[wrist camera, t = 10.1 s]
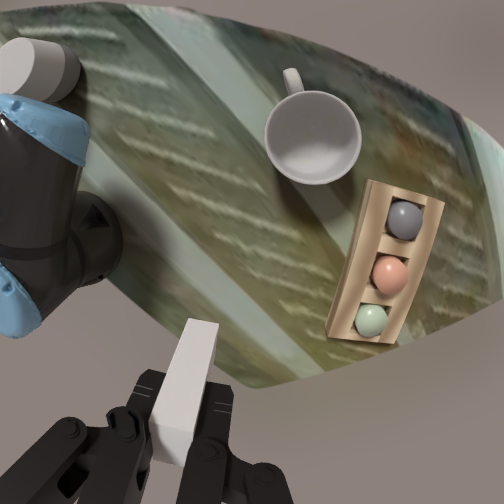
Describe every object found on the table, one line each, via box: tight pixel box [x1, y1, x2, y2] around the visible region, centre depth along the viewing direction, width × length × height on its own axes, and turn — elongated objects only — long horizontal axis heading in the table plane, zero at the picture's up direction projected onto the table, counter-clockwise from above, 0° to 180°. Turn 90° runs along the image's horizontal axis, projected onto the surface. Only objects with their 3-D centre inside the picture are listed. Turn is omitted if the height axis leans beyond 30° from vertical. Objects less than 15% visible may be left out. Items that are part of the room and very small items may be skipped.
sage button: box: [354, 302, 388, 337], centre depth 45 cm, size 5×5×3 cm
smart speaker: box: [0, 38, 80, 103], centre depth 29 cm, size 10×9×14 cm
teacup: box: [264, 68, 362, 185], centre depth 34 cm, size 14×11×8 cm
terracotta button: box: [370, 254, 409, 295], centre depth 41 cm, size 5×5×3 cm
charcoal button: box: [385, 199, 423, 240], centre depth 39 cm, size 5×5×3 cm
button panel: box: [325, 179, 445, 344], centre depth 43 cm, size 12×24×3 cm, turn 170°
